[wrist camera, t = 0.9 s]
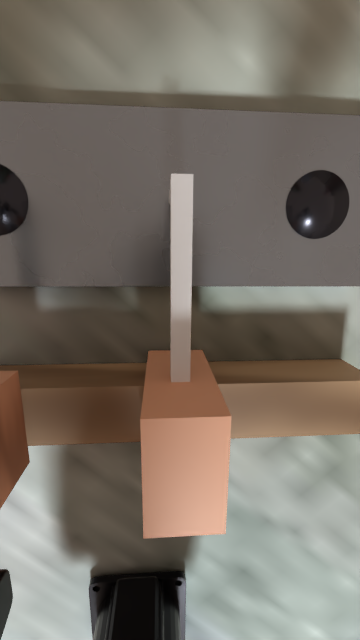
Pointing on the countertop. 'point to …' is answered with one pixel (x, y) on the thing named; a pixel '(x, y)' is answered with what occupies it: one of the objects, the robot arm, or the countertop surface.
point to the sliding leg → (183, 409)
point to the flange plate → (154, 188)
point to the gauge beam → (127, 394)
